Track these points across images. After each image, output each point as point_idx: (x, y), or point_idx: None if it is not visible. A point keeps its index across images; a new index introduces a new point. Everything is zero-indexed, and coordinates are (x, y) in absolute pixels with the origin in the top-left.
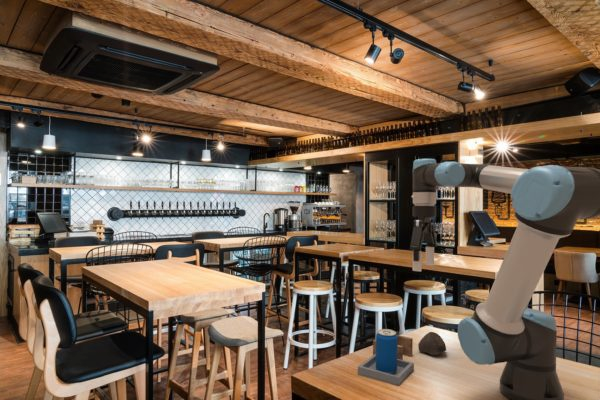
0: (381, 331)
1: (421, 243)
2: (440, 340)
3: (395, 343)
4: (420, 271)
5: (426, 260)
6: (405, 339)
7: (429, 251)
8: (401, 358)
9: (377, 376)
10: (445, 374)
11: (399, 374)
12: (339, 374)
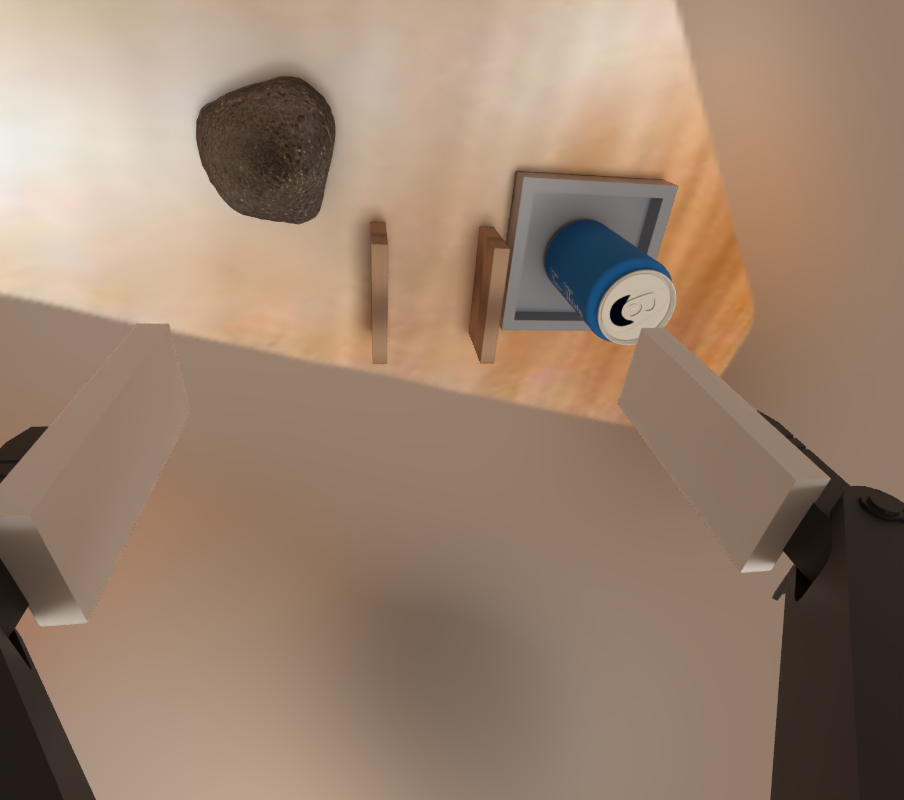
0: (624, 331)
1: (893, 598)
2: (299, 109)
3: (642, 253)
4: (664, 331)
5: (168, 441)
6: (387, 269)
7: (101, 506)
8: (499, 235)
9: None
10: (488, 34)
11: (650, 192)
12: None
